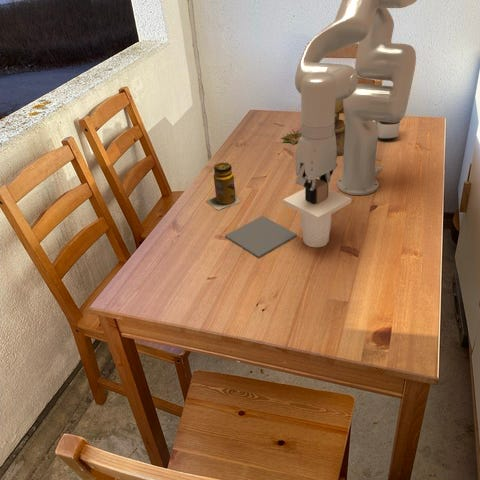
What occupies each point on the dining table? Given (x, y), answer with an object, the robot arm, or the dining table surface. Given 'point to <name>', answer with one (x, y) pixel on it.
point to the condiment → (223, 187)
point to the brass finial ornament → (339, 128)
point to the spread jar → (387, 130)
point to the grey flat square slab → (260, 236)
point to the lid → (318, 201)
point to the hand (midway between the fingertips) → (316, 198)
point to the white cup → (315, 230)
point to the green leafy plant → (291, 136)
